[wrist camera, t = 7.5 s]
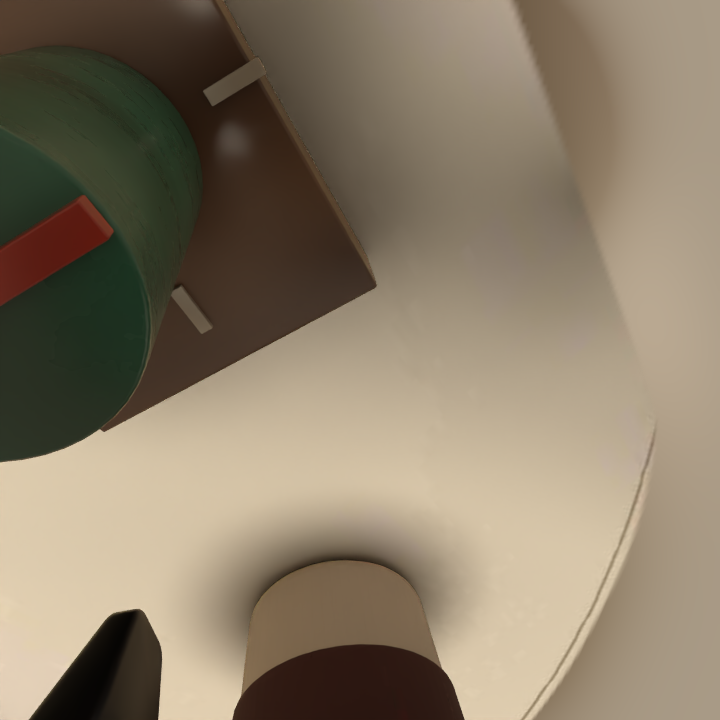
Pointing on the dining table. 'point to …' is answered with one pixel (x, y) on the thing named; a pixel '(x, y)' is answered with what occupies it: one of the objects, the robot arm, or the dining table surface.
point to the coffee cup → (343, 650)
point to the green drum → (84, 239)
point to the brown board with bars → (218, 185)
